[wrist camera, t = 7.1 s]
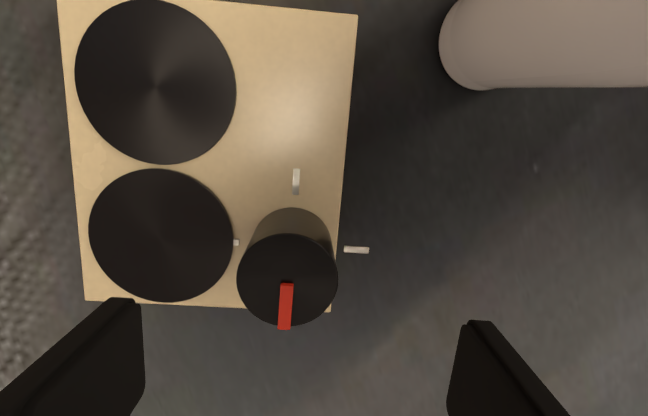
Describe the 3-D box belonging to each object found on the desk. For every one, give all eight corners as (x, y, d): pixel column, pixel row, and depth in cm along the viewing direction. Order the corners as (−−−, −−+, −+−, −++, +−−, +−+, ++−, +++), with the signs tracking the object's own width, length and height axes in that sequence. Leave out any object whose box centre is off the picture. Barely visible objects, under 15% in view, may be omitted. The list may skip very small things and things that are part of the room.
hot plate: (382, 33, 20) (396, 17, 17) (353, 293, 24) (360, 318, 21) (93, 4, 19) (51, -18, 16) (113, 280, 23) (82, 305, 20)
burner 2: (235, 173, 18) (234, 174, 18) (232, 303, 20) (231, 306, 20) (85, 162, 18) (81, 163, 18) (97, 296, 20) (93, 299, 19)
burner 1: (238, 9, 16) (237, 7, 16) (235, 169, 18) (234, 170, 18) (70, -8, 16) (66, -10, 16) (84, 158, 18) (81, 159, 18)
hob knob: (253, 203, 19) (235, 232, 14) (335, 210, 19) (343, 239, 14) (250, 279, 20) (232, 328, 15) (327, 283, 20) (333, 333, 15)
